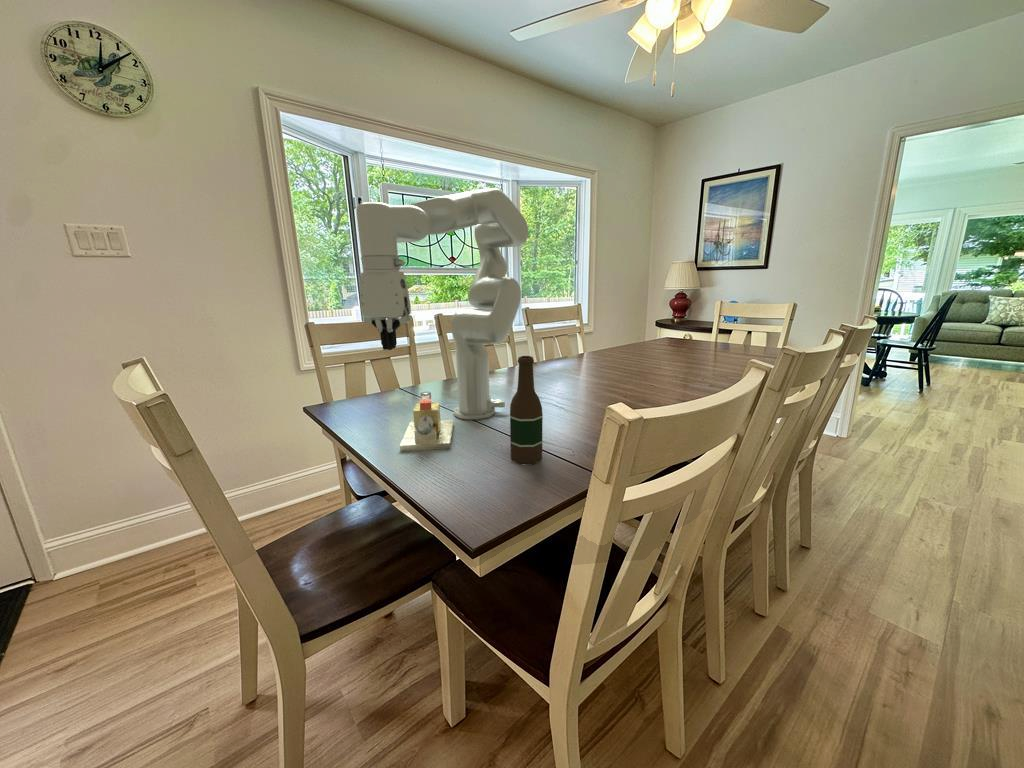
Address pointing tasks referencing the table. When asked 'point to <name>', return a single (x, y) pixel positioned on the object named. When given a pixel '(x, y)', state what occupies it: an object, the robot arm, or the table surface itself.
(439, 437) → the valve stand
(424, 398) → the valve lever
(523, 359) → the beer bottle
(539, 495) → the table surface
